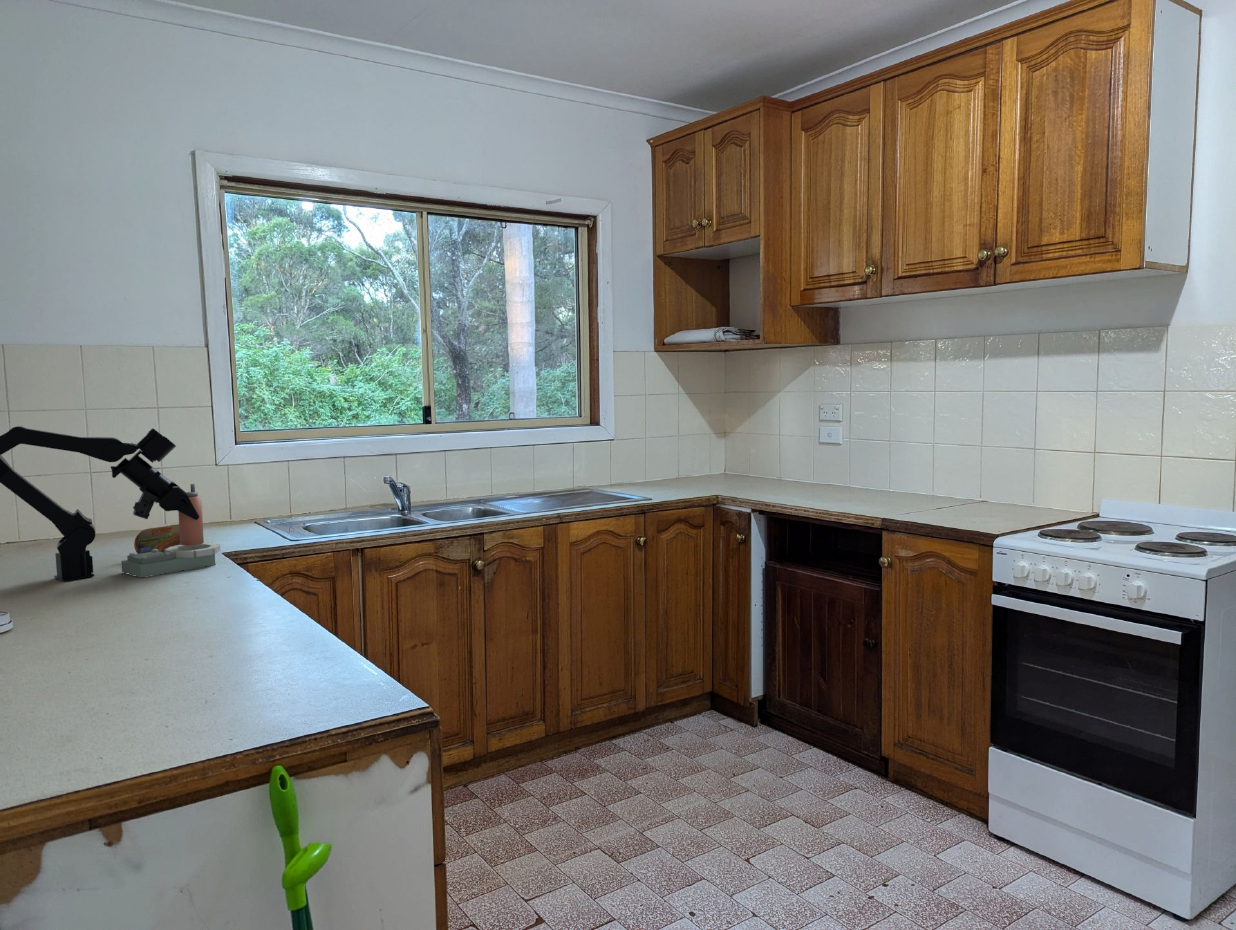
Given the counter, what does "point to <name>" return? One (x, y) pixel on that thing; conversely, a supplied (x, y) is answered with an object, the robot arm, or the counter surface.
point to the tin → (157, 539)
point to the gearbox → (171, 559)
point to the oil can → (192, 522)
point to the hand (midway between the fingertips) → (196, 517)
